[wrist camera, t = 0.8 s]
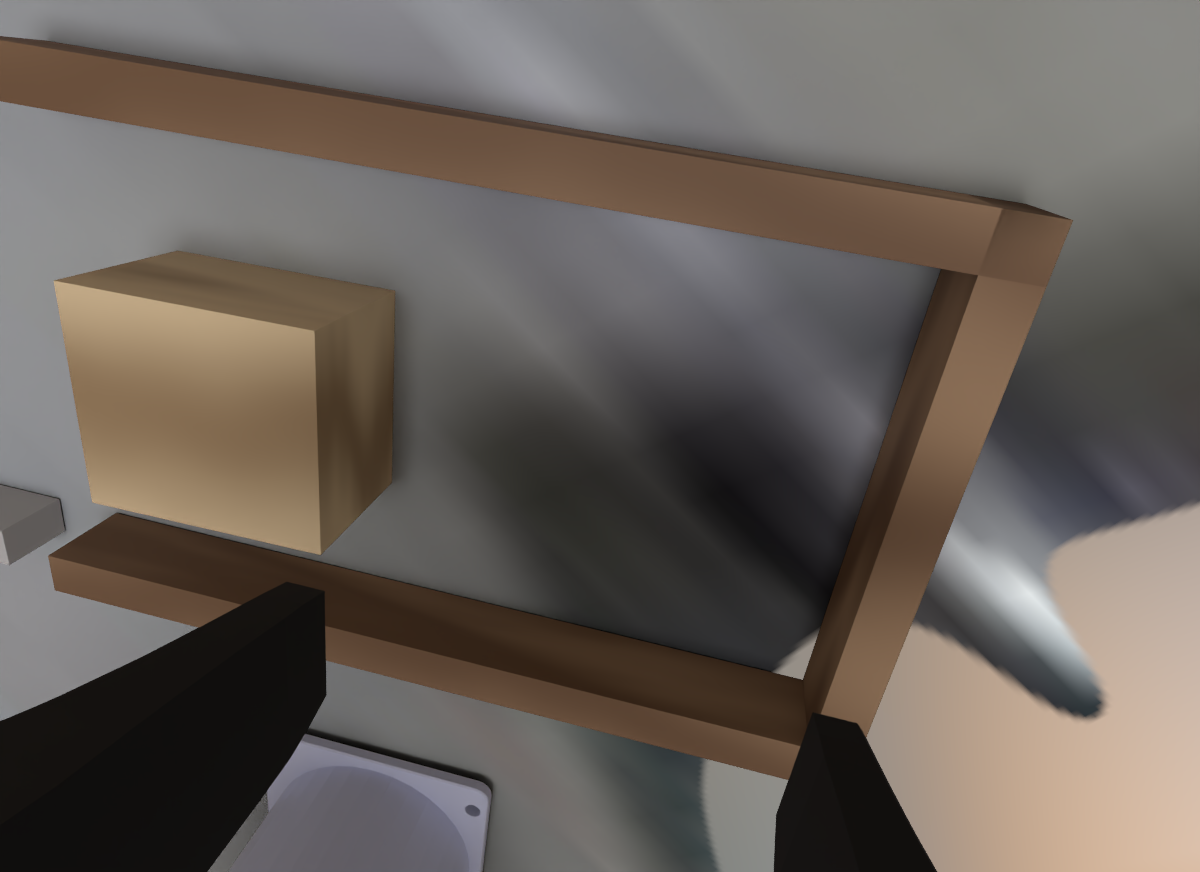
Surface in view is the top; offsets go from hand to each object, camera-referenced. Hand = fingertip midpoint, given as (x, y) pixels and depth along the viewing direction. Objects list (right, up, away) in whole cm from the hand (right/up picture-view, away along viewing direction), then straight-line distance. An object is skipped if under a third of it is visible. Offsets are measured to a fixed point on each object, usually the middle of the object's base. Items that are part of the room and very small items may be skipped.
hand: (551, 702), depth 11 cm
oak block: (-8, +6, +10) cm, 14 cm away
